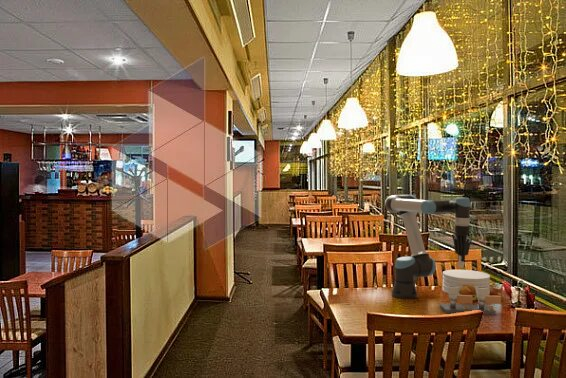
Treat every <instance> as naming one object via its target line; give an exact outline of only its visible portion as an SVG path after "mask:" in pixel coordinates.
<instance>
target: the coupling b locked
mask: <svg viewBox="0 0 566 378" xmlns="http://www.w3.org/2000/svg"><path fill="white" fill-rule="evenodd" d="M476 293H477V300H481V301H484V305H488V304H491V305H492V304H493V305H501V304H502V296H501V295H487V288H485V287H476ZM477 300H476V301H477Z"/></svg>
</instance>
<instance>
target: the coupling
mask: <svg viewBox="0 0 566 378" xmlns="http://www.w3.org/2000/svg"><path fill="white" fill-rule="evenodd" d="M448 293H449V294H448ZM448 293H447V294H448V300H450V299H451V300H456V304H473V302H474V301H473V296H472V295H457V294H458V287H457V286H448Z"/></svg>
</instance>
